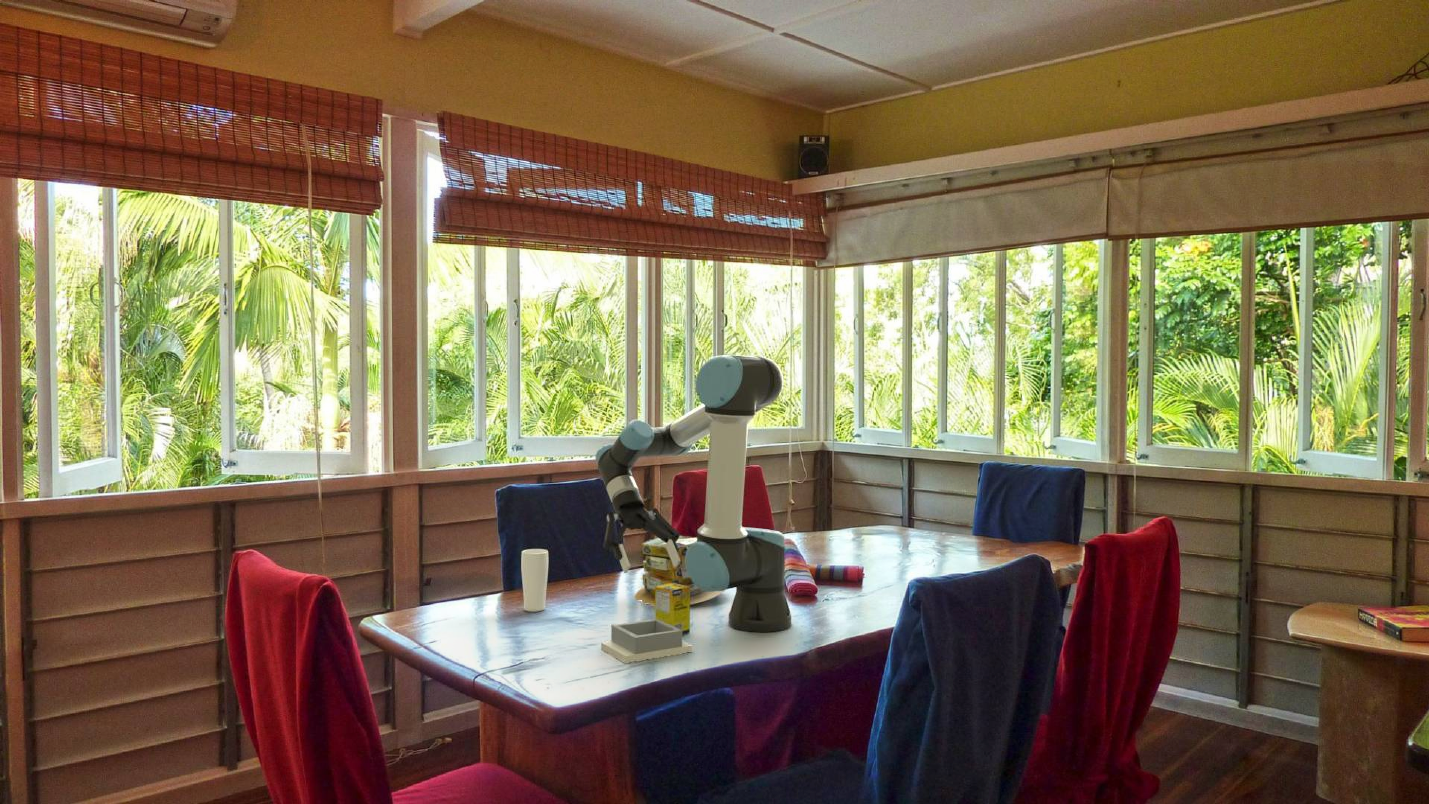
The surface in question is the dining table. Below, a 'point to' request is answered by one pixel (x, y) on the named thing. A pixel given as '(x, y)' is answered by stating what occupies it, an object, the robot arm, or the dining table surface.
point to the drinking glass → (534, 578)
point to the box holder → (645, 641)
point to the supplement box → (673, 605)
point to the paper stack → (668, 571)
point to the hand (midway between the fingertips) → (652, 567)
